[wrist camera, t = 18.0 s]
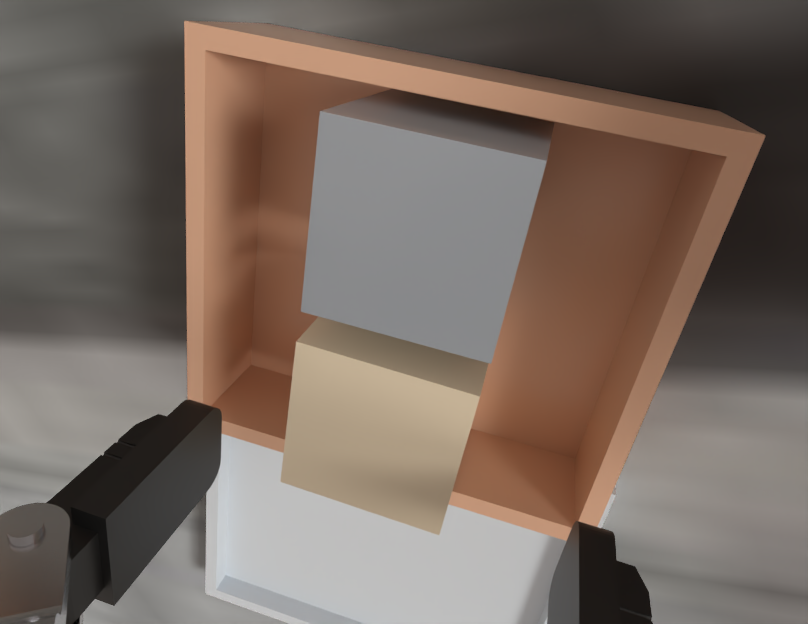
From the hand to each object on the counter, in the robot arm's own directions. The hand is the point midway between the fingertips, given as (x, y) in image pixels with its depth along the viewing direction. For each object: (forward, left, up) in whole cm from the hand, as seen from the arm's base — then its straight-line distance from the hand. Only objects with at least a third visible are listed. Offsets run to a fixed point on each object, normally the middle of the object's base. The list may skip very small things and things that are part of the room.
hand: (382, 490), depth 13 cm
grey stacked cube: (+1, -5, -6) cm, 8 cm away
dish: (+1, -3, -7) cm, 8 cm away
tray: (+1, +9, -7) cm, 11 cm away
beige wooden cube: (+1, 0, -6) cm, 6 cm away
